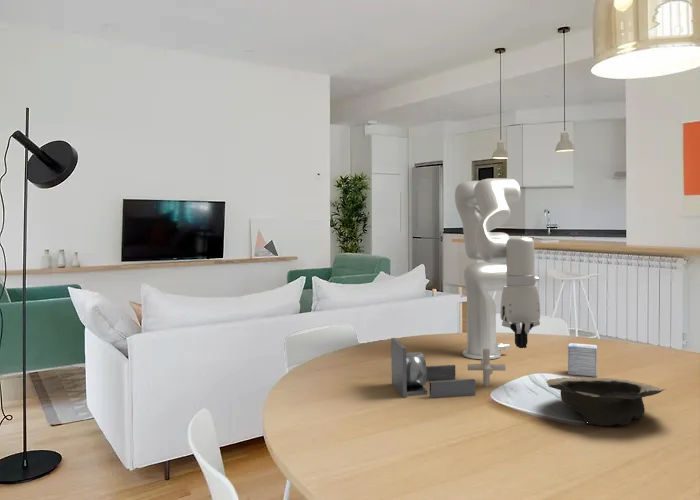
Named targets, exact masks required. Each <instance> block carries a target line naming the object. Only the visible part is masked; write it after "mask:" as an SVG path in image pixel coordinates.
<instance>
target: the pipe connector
mask: <svg viewBox="0 0 700 500" xmlns="http://www.w3.org/2000/svg"><path fill="white" fill-rule="evenodd" d="M490 360H491V359H490V349H483V359H481V361H480V363H467V370H468V371H482V385H483V386H484V387H489V386H490V385H491V377H490V376H491V375H492V374H493V372H494V371H498V372H499V371H501V372H502V371H503V372H504V371H506V364H503V363H490Z"/></svg>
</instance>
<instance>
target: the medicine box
mask: <svg viewBox="0 0 700 500" xmlns="http://www.w3.org/2000/svg"><path fill="white" fill-rule="evenodd" d="M567 375H574V376H581V377H592V378H598V377H597V376H598V346H597V344H586V343H575V342H574V343H568V345H567Z"/></svg>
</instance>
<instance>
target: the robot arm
mask: <svg viewBox="0 0 700 500" xmlns="http://www.w3.org/2000/svg"><path fill="white" fill-rule="evenodd" d="M521 195H522V192H521V186H520V183H518V181H517V180H516V179H513V178H507V177H506V178H499V177H497V178H485V179H481V180H468V181H467V180H466V181H462V182H460V183H458V184H457V186H456V187H455V192H454V203H455V207H456V210H457V213H458V215H459V217H460V220H461V224H462V230H463V231H462V232H463V238H464V239H463V240H464V248H465V249H464V250H465V254H466V256H467V257H468V259H470V260H472V261H483V262H477V263H476V262H475V263H471V264H469V265H467V266H466V267H465V270H463V271H464V273H463V279H464V285H465V292H466V326H467V327H466V339H467V341H466V343H467V344H466V345H467V347H466V349H464V350H463V351H462V356H463V357H465V358H468V359H473V360H483V349H490V360H494V359H499V358H500V357H501V355H502V354H501V351H502V350H504V351H505V350H506V351H507V350H508V351H509V350H510V349H511V346H510V344H509V343H502V342H501V343H499V342H497V338H496V337H497V324H496V323H497V312H496V311H497V305H496V302H495V300H494V298H493V297H492V296H491V295H490V293H489V292H495V291H496V292H497V291H498V292H500V291H501V301H500V319H501V326H503V327H504V328H508V329H510V330H512V332H513V333H514V344H515V347H516V348H520V349H526V348H527V347H528V346H527V345H528V334H529V333H530V331H531V330H532V329H533V328H534V327H535V328H536V327H538V326H540V325H541V322H540V319H541V303H540V295H539V291H538V286H537V285H536V283H538V282H539V280H540V278H539V277H538V276H536V275H535V240H534V239H533V238H531V237H524V236H523V237H521V236H510V235H509V234H508V233H506V232H494V231H493V230H495V229H498V228H499V227H501V226H503V225H505V224H506V223H507V222H508V221H509V220H510V217H511V208H510V207H509V206H511V205H516V204H517V203H518V202H519V201H520V199H521ZM477 206H478V207H477ZM492 231H493V232H492Z"/></svg>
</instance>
